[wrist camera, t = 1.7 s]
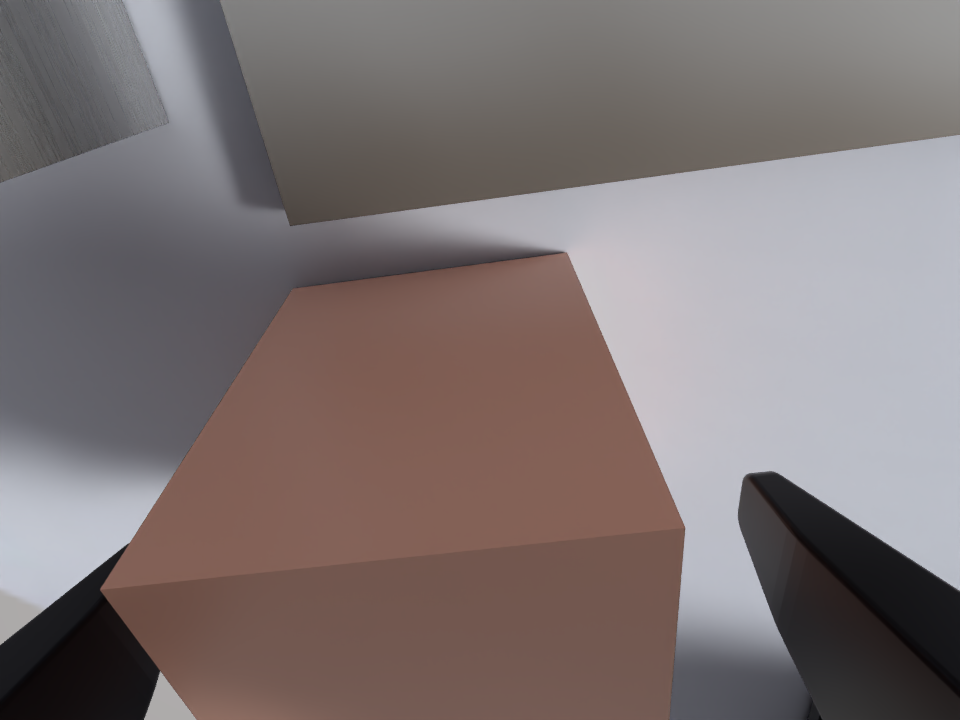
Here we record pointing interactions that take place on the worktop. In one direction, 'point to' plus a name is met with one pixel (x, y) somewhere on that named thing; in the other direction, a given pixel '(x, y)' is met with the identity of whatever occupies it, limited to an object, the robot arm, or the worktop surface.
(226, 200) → the worktop surface
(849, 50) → the plate
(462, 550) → the salmon pink block
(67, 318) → the worktop surface
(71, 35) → the post steel
